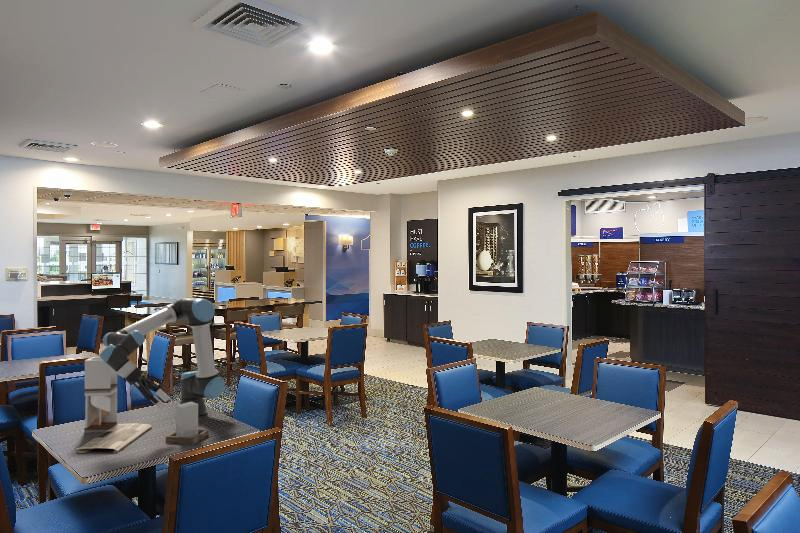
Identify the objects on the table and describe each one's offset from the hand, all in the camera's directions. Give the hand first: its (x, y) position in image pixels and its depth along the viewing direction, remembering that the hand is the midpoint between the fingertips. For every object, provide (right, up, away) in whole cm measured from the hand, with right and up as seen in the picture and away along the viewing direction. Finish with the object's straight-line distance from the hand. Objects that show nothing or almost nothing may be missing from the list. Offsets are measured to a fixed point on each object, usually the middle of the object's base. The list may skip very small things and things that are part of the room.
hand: (165, 403), depth 259 cm
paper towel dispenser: (-39, -17, +17) cm, 46 cm away
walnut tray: (+9, -17, +2) cm, 20 cm away
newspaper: (-22, -18, +1) cm, 29 cm away
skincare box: (+9, -17, +2) cm, 19 cm away
